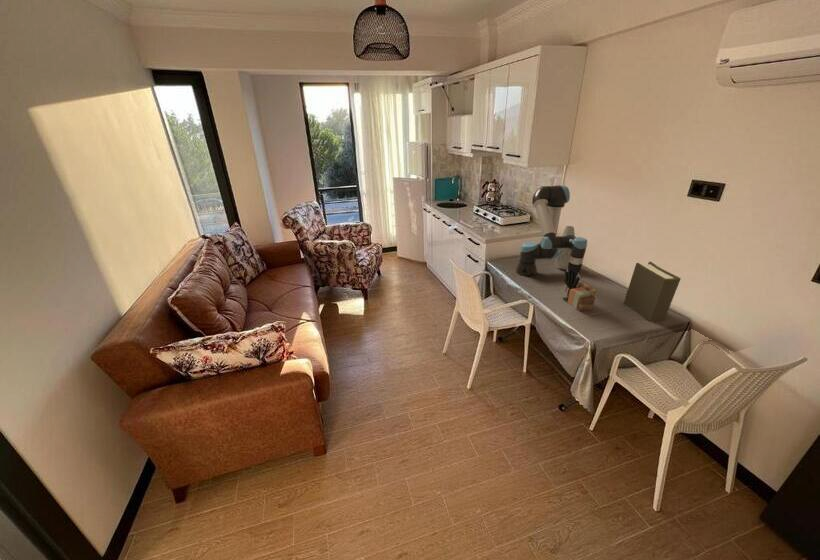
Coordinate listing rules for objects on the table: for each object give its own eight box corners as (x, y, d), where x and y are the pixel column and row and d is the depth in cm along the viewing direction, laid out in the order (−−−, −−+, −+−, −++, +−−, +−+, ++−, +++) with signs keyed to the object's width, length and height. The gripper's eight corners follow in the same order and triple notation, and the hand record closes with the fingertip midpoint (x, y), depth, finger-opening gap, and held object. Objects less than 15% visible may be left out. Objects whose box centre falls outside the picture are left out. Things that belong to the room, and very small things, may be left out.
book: (665, 321, 187) (682, 277, 174) (650, 323, 186) (666, 279, 173) (637, 302, 206) (650, 261, 193) (623, 303, 205) (636, 262, 192)
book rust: (567, 303, 208) (570, 289, 204) (577, 300, 210) (580, 287, 206) (571, 306, 205) (574, 292, 200) (582, 303, 207) (585, 289, 202)
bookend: (561, 299, 212) (564, 285, 208) (572, 296, 214) (574, 283, 210) (567, 302, 208) (570, 288, 204) (577, 300, 210) (580, 286, 206)
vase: (548, 263, 265) (554, 223, 250) (569, 262, 264) (576, 223, 250) (555, 271, 250) (562, 230, 235) (577, 271, 249) (586, 229, 235)
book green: (572, 306, 205) (574, 292, 200) (582, 303, 207) (585, 289, 202) (576, 309, 201) (579, 294, 197) (587, 306, 203) (590, 292, 199)
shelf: (551, 293, 220) (554, 277, 215) (564, 290, 223) (567, 274, 218) (579, 311, 198) (583, 294, 193) (594, 308, 201) (598, 291, 196)
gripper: (563, 259, 205) (556, 292, 216) (578, 267, 195) (570, 301, 206) (573, 257, 207) (565, 290, 218) (588, 265, 197) (579, 299, 208)
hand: (567, 295), depth 212 cm, fingers closed
